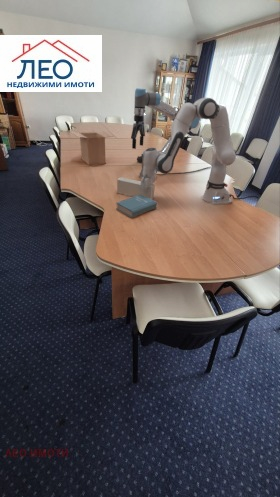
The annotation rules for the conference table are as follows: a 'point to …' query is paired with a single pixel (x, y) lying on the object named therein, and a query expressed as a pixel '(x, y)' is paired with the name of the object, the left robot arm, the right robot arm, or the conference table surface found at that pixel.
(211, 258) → the conference table surface
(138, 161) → the laser sight
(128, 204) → the book
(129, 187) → the long box
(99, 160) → the box
